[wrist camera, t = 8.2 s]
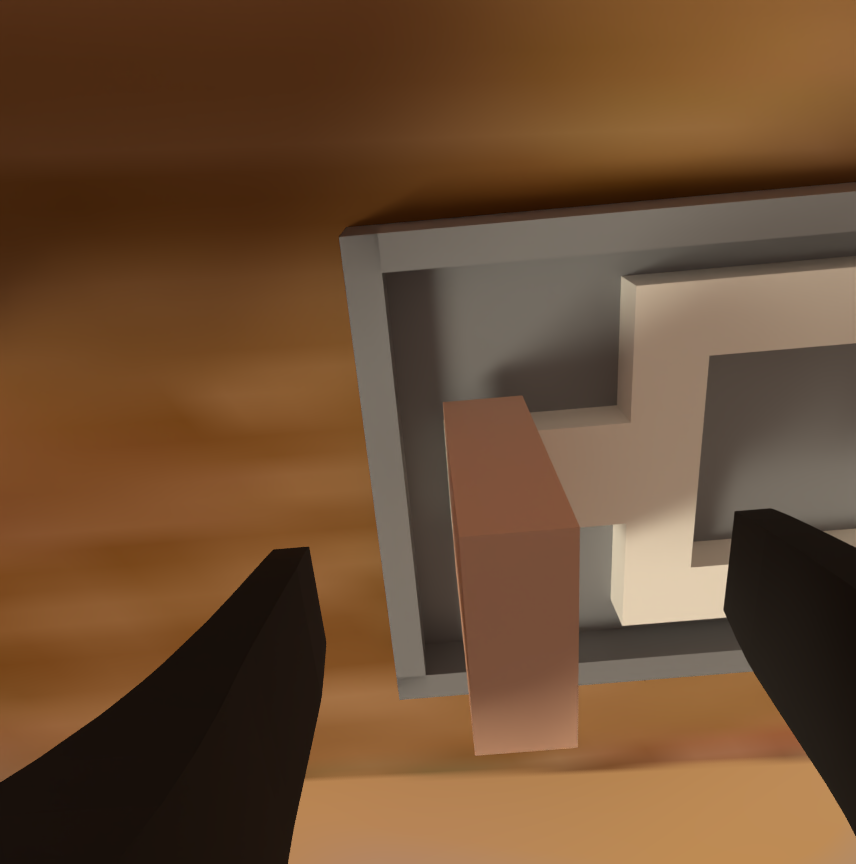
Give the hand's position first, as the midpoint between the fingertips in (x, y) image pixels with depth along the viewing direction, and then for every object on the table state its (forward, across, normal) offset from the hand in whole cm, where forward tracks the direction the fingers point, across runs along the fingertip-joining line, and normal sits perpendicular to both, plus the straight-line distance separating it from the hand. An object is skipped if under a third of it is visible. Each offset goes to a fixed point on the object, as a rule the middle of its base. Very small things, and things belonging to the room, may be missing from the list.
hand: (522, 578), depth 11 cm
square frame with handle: (+4, -5, 0) cm, 6 cm away
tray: (+4, -5, 0) cm, 7 cm away
